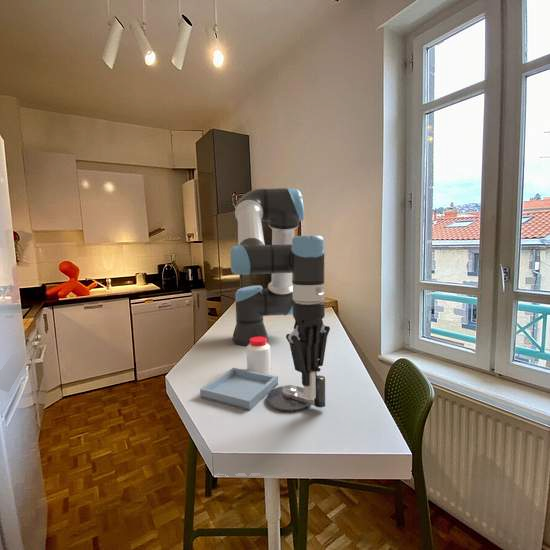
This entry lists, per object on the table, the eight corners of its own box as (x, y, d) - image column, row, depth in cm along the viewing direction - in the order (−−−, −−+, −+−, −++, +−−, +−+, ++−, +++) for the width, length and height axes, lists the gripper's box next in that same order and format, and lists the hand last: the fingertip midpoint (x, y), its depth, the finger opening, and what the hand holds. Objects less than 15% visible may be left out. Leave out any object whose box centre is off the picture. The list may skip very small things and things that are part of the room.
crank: (279, 395, 84) (278, 370, 83) (287, 390, 87) (287, 365, 86) (320, 409, 76) (320, 382, 76) (328, 402, 80) (328, 376, 79)
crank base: (259, 405, 82) (258, 386, 81) (279, 386, 92) (279, 369, 92) (304, 417, 76) (304, 396, 75) (320, 395, 87) (320, 377, 86)
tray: (200, 397, 87) (199, 388, 87) (233, 375, 101) (233, 367, 101) (249, 410, 79) (249, 401, 79) (278, 384, 94) (277, 376, 93)
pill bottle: (262, 378, 98) (261, 344, 97) (242, 373, 102) (241, 340, 101) (275, 369, 105) (274, 337, 104) (256, 365, 109) (255, 334, 108)
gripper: (300, 307, 67) (301, 412, 70) (338, 299, 76) (338, 393, 78) (277, 303, 73) (279, 400, 75) (315, 296, 81) (316, 383, 84)
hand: (309, 396), depth 77 cm, fingers closed
